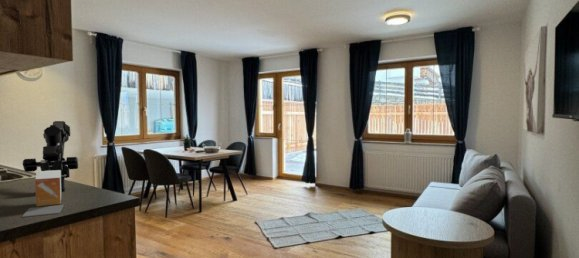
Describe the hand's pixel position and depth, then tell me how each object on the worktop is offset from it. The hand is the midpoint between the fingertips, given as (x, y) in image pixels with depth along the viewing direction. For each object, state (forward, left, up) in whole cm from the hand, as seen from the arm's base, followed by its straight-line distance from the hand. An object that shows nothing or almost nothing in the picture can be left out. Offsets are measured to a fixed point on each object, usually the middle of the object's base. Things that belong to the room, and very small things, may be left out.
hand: (49, 180), depth 131 cm
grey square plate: (+11, 0, -10) cm, 15 cm away
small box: (0, 0, -9) cm, 9 cm away
